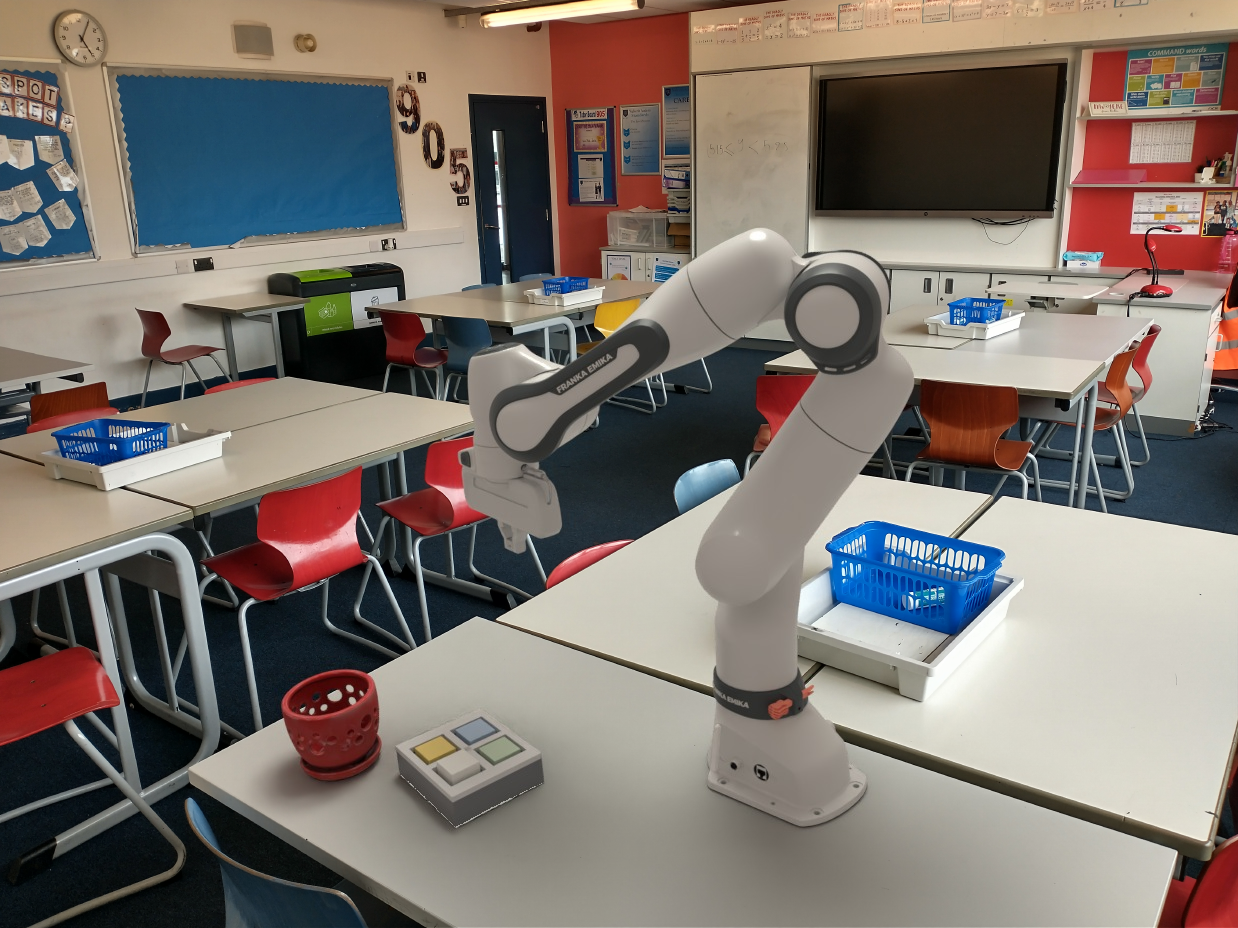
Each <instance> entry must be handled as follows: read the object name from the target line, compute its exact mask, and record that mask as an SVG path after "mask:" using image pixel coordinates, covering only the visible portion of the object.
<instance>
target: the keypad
mask: <svg viewBox="0 0 1238 928" xmlns="http://www.w3.org/2000/svg"><path fill="white" fill-rule="evenodd" d="M478 719H481V720H483V721H484V722H485V723H487V724H488V725H489V726H491V727H492V728H493V729H495V731H496V734H494V735H492V736H489V737H487V738H485V739H483V740H481V741H479V742H477V743H474V744H472V745H470V746H468V745H467V744H465V743H464V742H463V741H462V740H460V739H459V738H458V737H457V736H456V733H455V730H456V729H458V728H460V727H462V726H465V725H467V724H469V723H471V722H474V721H476V720H478ZM440 736H442V737H443V738H444V739H445V740H446V741H448V742H449V743H450V744H451V745H452V746H454V747H455V748H456V752H457V751H460V750H462V749H464V750H466V751H467V752H468V753H469V754H471V755H472V756H473V757H474V758H475V759H477V760H478V761H479V763H480V771H481V772H480V773H478V774H476V775H474V776H472V777H470V778H468V779H466V780H464V781H462V782H460V783H458V784H456V785H454V786H452V787H451V786H450V785H449V784H448V783H447V782H445V781H444V780H443V779H442V778H441V777H440V776H439V775H438V774H436V773H435V772H437V771H438V770H437V762H434V763H432V764H429V765H426V764H425V763H424V762H423V761H422V760H421V759H420V758H418V757H417V756H416V754H415V748H416V747H418V746H420V745H422V744H425V743H427V742H429V741H431V740H433V739H436V738H438V737H440ZM502 737H505V738H507V739H508V740H509V741H511V742H512V743H513V744H515V745H516V746H517V747H519V748H520V749H521V753H519V754H517V755H515V756H513V757H511V758H509V759H507V760H505V761H503V762H501V763H499V764H497V765H495V766H493V765H492V764H490V763H489V762H488V761H487V760H485V759H484V758H483V757H482V756H480V755H479V754H478V753H477V752H479V748H481V747H483V746H485V745H487V744H489V743H491V742H494V741H496V740H498V739H500V738H502ZM394 746H395V752H396V753H395V754H396V758H397V759H396V760H397V766H398V774H399V773H400V774H399V776H400V775H402V776H403V777H404V778H405V779H406V780H407V781H409V783H411V784H412V785H413V786H414V788H416V790H418V791H419V792H420V793H421V794H422V795H423V796H425V798H426V799H427V800H428V801H430V802H431V803H432V804H433V805H434V806H435V807H436V808H437V810H438V811H439V812H440V813H442V814H443V815H444V816H445V817H446V818H447V819H448V820H449V821H450V822H451V823H452V824H453V825H454V826H455V827H456V826H458V825H460V824H463V823H464V822H466V821H468V820H470V819H471V818H473V817H475V816H477V815H479V814H481V813H482V812H484V811H486V810H488V809H490V808H491V807H494V806H496V805H498V804H500V803H501V802H503V801H506V800H508V799H509V798H513V797H514V796H516V795H519V794H520V793H522V792H524V791H526V790H529V789H530V788H532V787H534V786H537V785H539V784H541V783H543V782H544V783H545V779H544V778H545V777H544V768H543V767H544V766H543V756H542V751H540V750H538V749H536V748H535V746H532V745H531V744H530V743H528V742H527V741H525V740H524V739H523V738H521V737H520V736H519V735H518V734H516V733H515V732H514V731H512V730H511V729H509V728H508V727H507V726H505V725H504V724H503V723H502V722H500V721H498V720H497V719H496V718H494V717H493V716H492V715H490V714H489V713H488V712H486V711H485V710H483V709H482V708H478V709H476V710H473V711H472V712H469V713H466V714H464V715H463V716H460V717H457V718H455V719H453V720H451V721H449V722H447V723H444V724H442V725H440V726H437V727H435V728H433V729H430V730H429V731H426V732H424V733H422V734H420V735H417V736H415V737H413V738H410V739H408V740H406V741H403V742H401V743H399V744H397V745H394ZM444 758H445V757H444ZM544 783H543V784H544ZM541 785H542V784H541ZM539 786H540V785H539ZM537 787H538V786H537ZM414 788H413V789H414ZM416 790H415V791H416ZM529 791H530V790H529ZM437 810H436V811H437ZM438 811H437V812H438ZM439 812H438V813H439ZM440 813H439V814H440ZM451 823H450V824H451ZM452 824H451V825H452ZM453 825H452V826H453ZM454 826H453V827H454ZM455 827H454V828H455Z"/></svg>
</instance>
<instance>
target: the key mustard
mask: <svg viewBox="0 0 1238 928" xmlns="http://www.w3.org/2000/svg"><path fill="white" fill-rule="evenodd" d="M455 752H456V748H455V747H454V746H452V745H451V744H450V743H449V742H448V741H446V740H445V739H444V738H443V737H442V736H440V737H438V738H436V739H433V740H431V741H429V742H427V743H425V744H422V745H420V746H418V747H416V748H415V754H416V756H417V757H418V758H420V759H421V760H422V761H423V762H424V763H425V764H426V765H429V764H432V763H434V762H436V761H438V760H440V759H442V758H444V757H447V756H449V755H451V754H453V753H455ZM435 773H436V774H438V771H437V772H435Z"/></svg>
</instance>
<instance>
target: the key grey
mask: <svg viewBox="0 0 1238 928" xmlns="http://www.w3.org/2000/svg"><path fill="white" fill-rule="evenodd" d="M436 762H437V770H438V775H439V776H440V777H441V778H442V779H443V780H444V781H445V782H447V783H448V784H449V785H450V786H451V787H452V786H454V785H456V784H458V783H460V782H462V781H464V780H466V779H468V778H470V777H472V776H474V775H476V774H478V773H480V772H481V771H480V763H479V761H478V760H477V759H475V758H474V757H473V756H472V755H471V754H469V753H468V752H467V751H466V750H464V749H462V750H460V751H457V752H455V753H453V754H451V755H449V756H447V757H445V758H442V759H440V760H438V761H436Z"/></svg>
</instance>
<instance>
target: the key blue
mask: <svg viewBox="0 0 1238 928" xmlns="http://www.w3.org/2000/svg"><path fill="white" fill-rule="evenodd" d="M455 733H456V736H457V737H458V738H459V739H460V740H462V741H463V742H464V743H465V744H467V745H468V746H470V745H472V744H474V743H477V742H479V741H481V740H483V739H485V738H487V737H489V736H492V735H494V734H496V731H495V729H493V728H492V727H491V726H489V725H488V724H487V723H485V722H484V721H483V720H481V719H478V720H476V721H474V722H471V723H469V724H467V725H465V726H462V727H460V728H458V729H456V730H455ZM477 753H478V754H479V752H477Z"/></svg>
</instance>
